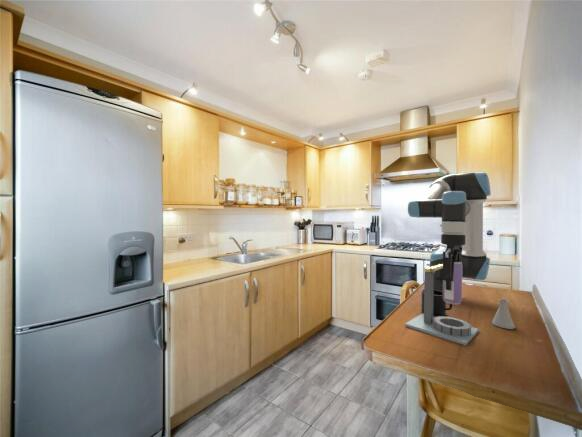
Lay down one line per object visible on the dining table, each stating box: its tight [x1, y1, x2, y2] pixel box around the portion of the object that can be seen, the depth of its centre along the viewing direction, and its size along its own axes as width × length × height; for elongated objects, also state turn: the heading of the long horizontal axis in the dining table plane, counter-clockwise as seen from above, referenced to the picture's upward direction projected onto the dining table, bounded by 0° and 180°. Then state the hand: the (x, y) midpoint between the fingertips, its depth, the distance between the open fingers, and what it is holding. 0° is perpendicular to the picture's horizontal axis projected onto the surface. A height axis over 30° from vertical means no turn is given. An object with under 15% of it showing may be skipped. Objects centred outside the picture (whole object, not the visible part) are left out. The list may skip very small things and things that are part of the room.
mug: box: [420, 289, 453, 317], centre depth 115 cm, size 9×12×9 cm
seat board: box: [404, 272, 479, 346], centre depth 99 cm, size 16×20×20 cm
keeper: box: [423, 264, 443, 273], centre depth 106 cm, size 4×16×1 cm, turn 132°
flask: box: [491, 298, 516, 330], centre depth 103 cm, size 7×7×10 cm
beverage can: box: [443, 261, 463, 305], centre depth 96 cm, size 6×6×15 cm
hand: (452, 296), depth 96 cm, fingers closed on beverage can, 6 cm apart
